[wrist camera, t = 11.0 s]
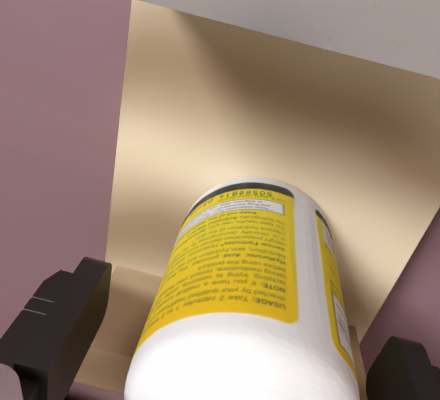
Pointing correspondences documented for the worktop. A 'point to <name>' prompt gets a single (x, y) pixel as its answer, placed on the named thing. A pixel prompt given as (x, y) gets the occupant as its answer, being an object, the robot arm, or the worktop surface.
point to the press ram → (339, 26)
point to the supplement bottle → (248, 304)
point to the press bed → (261, 160)
